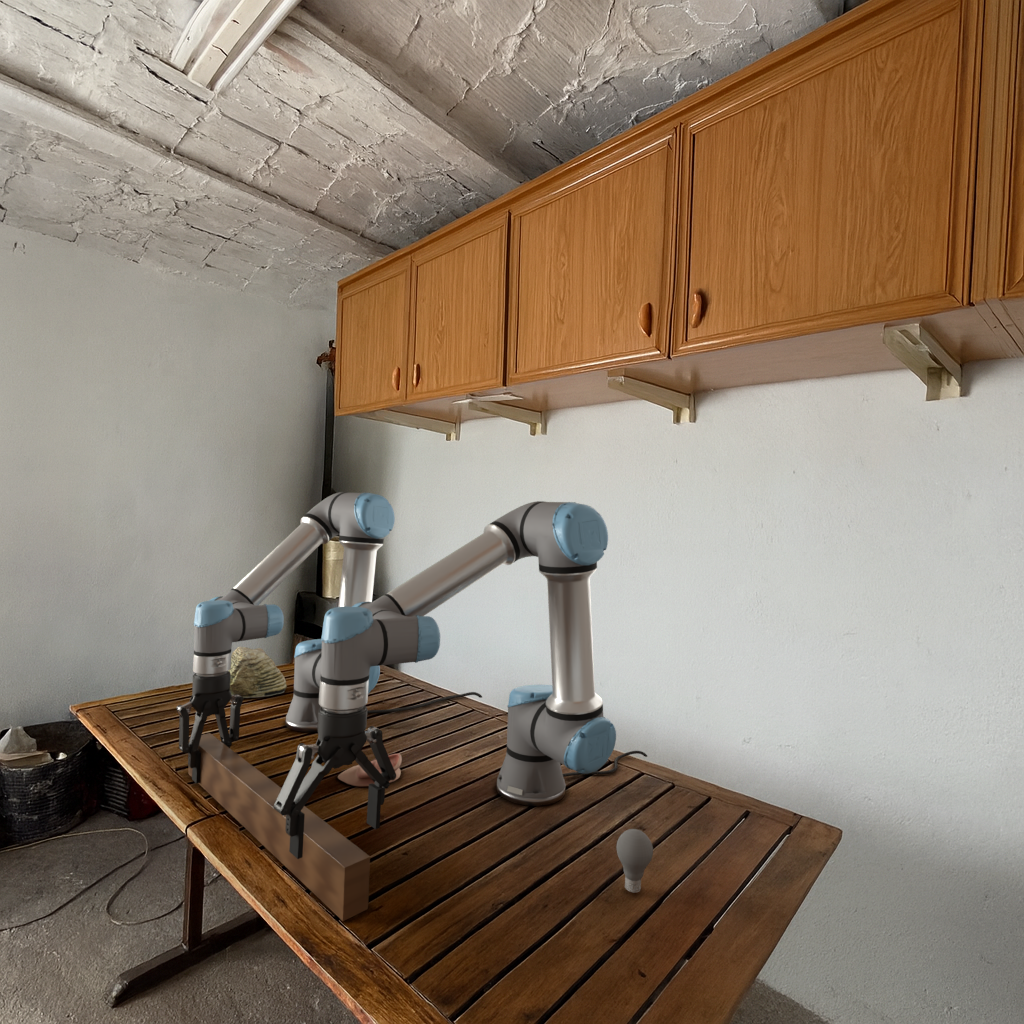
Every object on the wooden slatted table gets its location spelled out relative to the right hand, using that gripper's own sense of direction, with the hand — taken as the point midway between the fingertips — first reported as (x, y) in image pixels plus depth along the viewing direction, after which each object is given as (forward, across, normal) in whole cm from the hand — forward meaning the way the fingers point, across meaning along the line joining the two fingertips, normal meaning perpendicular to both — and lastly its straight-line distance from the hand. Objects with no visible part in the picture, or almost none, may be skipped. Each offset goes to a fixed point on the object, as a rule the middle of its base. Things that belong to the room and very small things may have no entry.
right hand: (336, 839), depth 100 cm
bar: (+10, 0, +27) cm, 29 cm away
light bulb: (+9, +38, -31) cm, 50 cm away
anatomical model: (+9, +28, +34) cm, 45 cm away
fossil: (+9, +33, +106) cm, 111 cm away
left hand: (+9, 0, +54) cm, 55 cm away
